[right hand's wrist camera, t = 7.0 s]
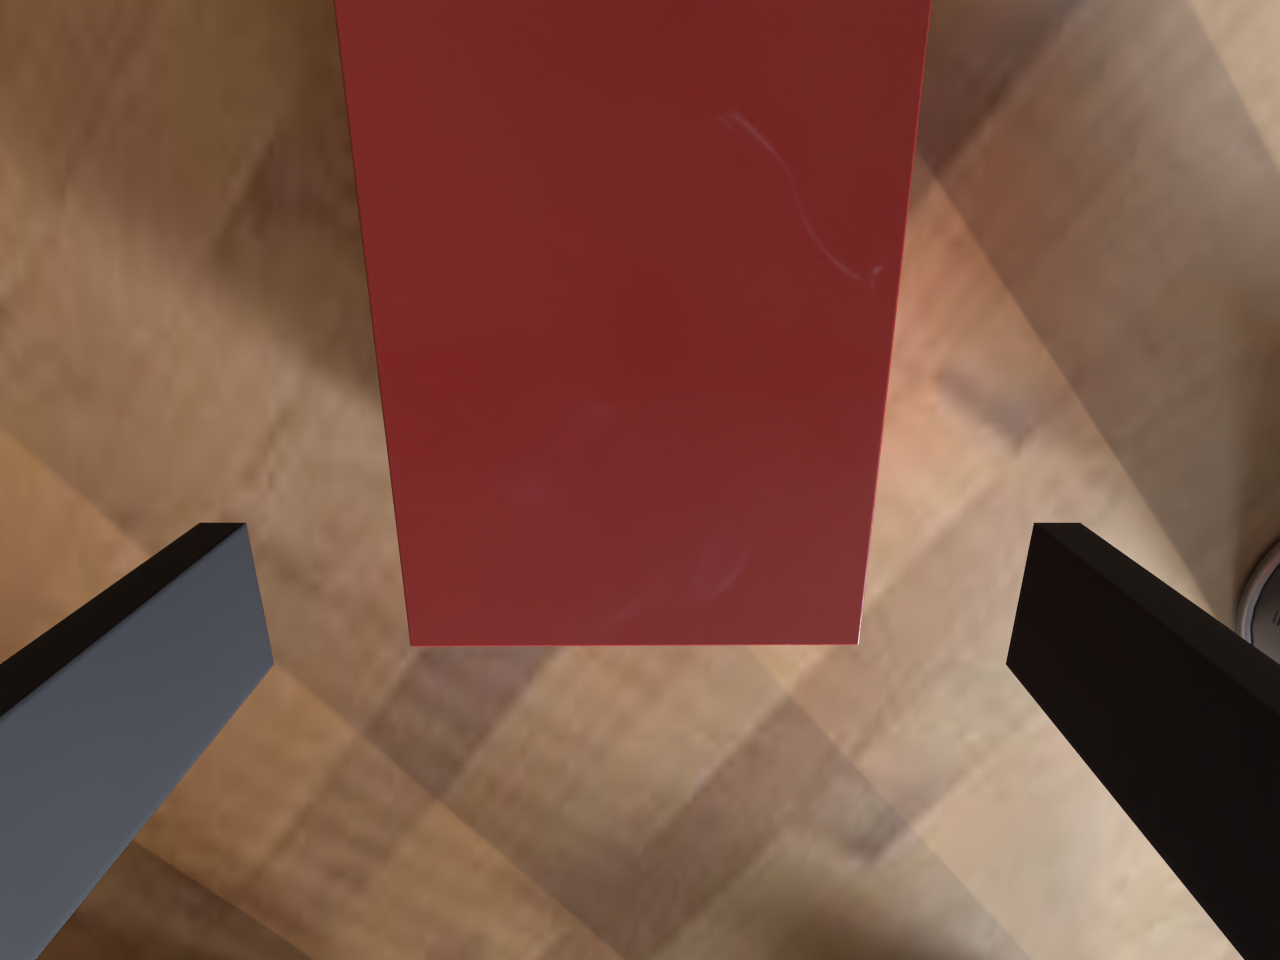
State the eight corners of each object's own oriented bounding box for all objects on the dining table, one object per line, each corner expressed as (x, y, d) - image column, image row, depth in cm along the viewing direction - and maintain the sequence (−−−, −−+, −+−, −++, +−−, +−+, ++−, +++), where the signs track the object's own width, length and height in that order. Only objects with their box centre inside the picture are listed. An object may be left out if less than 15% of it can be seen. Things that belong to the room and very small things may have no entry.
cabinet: (459, -4, 24) (308, -195, 13) (807, -3, 24) (955, -194, 13) (493, 486, 30) (409, 647, 19) (775, 486, 30) (859, 645, 19)
